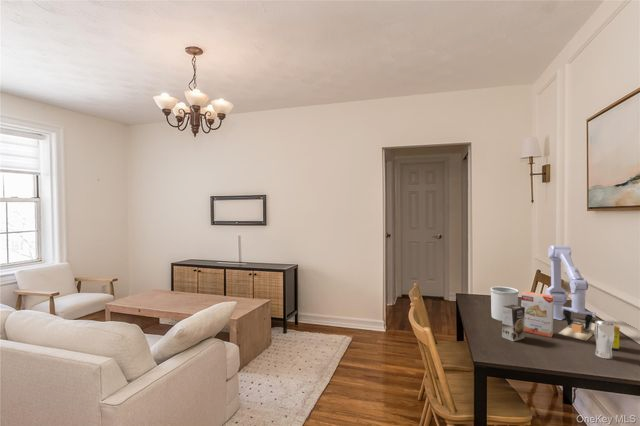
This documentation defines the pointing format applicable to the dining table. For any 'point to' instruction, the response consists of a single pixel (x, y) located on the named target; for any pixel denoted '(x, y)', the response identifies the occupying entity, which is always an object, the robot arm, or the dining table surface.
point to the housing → (580, 322)
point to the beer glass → (604, 339)
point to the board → (582, 336)
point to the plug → (578, 327)
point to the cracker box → (538, 313)
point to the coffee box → (513, 322)
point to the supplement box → (616, 338)
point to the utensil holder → (502, 300)
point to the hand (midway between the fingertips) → (577, 326)
